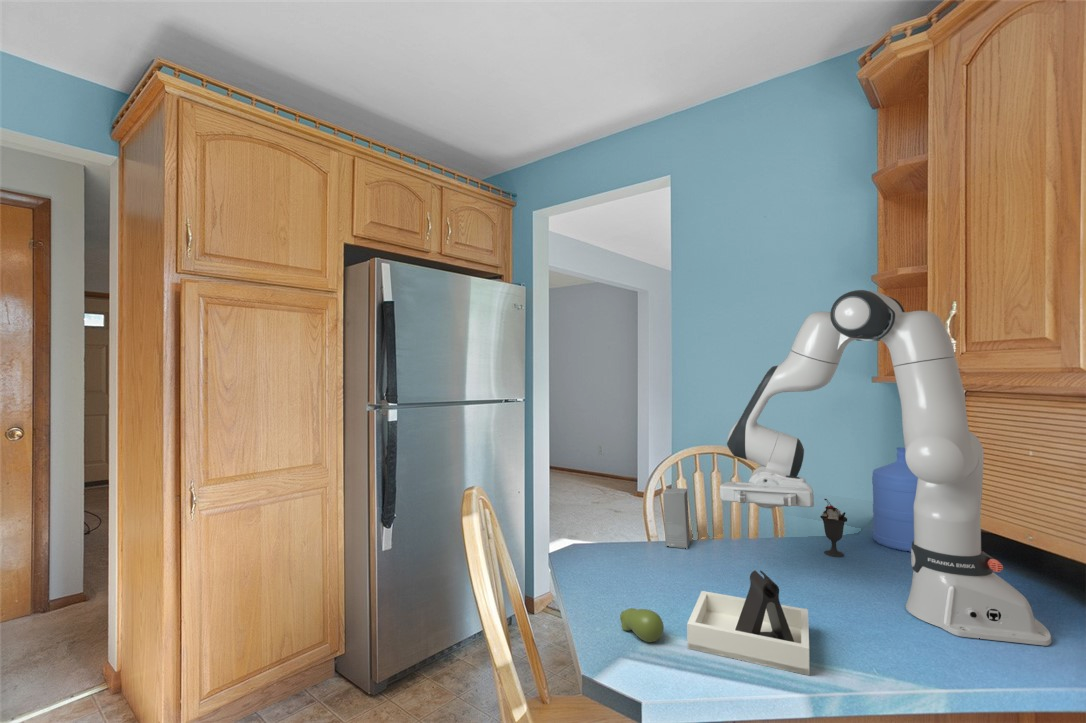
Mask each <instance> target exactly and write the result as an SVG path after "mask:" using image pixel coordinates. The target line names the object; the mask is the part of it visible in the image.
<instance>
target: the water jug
mask: <svg viewBox="0 0 1086 723" xmlns="http://www.w3.org/2000/svg"><path fill="white" fill-rule="evenodd" d="M871 480H872V481H871V484H872V496H873V498H872V503H873V504H872V513H873V514H872V517H873V520H872V525H873V527H872V528H873V529H872V538H873V540H874V541H875V543H877V544H879V545H881V546H883V547H887V548H889V549H892V550H896V549H897V550H896V551H901V550H902V552H907V551H909V552H908V553H911V548H912V542H913V541H914V501H915V496H916V489H917V481H918V477H917V476H915V475H914V474H913V473H912V472H911V471H910V469H909V468H908V466H907V463H906V459H905V447H896V461H894V462H892V463H890V464H885V465H883V466H880V467H876V468H874V469H873V470H872V476H871Z"/></svg>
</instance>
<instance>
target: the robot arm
mask: <svg viewBox="0 0 1086 723" xmlns="http://www.w3.org/2000/svg"><path fill="white" fill-rule="evenodd" d="M853 341H860V342H861V341H865V342H867V341H868V342H869V341H870V342H879V341H881V342H882V343H884V345H885V346H886V347H887V348H888V351H889V354H890V358H891V363H892V369H893V372H894V373H893V374H894V377H895V382H896V386H897V390H898V396H899V399H900V400H899V401H900V405H901V407H900V408H901V420H902V424H901V425H902V432H903V434H902V435H903V443H904V448H905V459H906V463H907V466H908V468H909V469H910V471H911V472H912V473H913V474H914V475H915V476H917V477H918V481H917V489H916V496H915V501H914V541H913V542H912V548H911V552H910V561H911V562H910V563H911V564H910V565H911V567H912V569H913V571H912V578H911V579H912V580H911V585H910V590H909V591H910V592H909V594H908V599H907V601H906V604H905V608H906V611H907V612H908V613H910V614H911V616H914V617H915V618H918V619H919V620H920V621H922V622H926V623H928V624H931V625H933V626H936V627H938V628H941V629H943V630H944V631H946V632H947V633H948V632H949V633H950V634H952V635H954V636H957V637H962V638H963V637H964V638H969V639H970V638H971V639H979V638H980V640H981V639H982V640H991V641H998V642H1000V641H1001V642H1008V643H1017V644H1018V643H1019V644H1027V645H1036V646H1037V645H1038V646H1043V647H1044V646H1050V645H1051V644H1052V642H1053V640H1052V635H1051V633H1050V631H1049V629H1048V628H1047V627H1046V626H1045V625H1044V624H1043V623H1042V622H1041V621H1039V620H1038V619H1036V618H1035V616H1034V612H1033V608H1032V607H1031V606H1032V605H1031V604H1030V602H1029V601H1028V599H1027V598H1026V597H1025V596H1024V595H1023V594H1022V593H1021V592H1020V591H1018V590H1017V589H1016V588H1015V587H1014V586H1012V585H1011V584H1010V583H1009V582H1007V581H1006V580H1005V579H1003V578H1002V577H1000V576H999V575H998V574H996V573H1001V572H1002V571H1003V570H1004V566H1003V564H1002V563H1001V562H1000V561H999V560H998V559H995V558H994V557H993V556H991V555H989V554H987V553H986V552H984V551H982V528H981V527H982V526H981V522H982V520H981V519H982V518H981V516H982V514H981V512H982V511H981V510H982V497H983V496H982V495H983V483H984V482H983V480H984V458H985V457H984V447H983V444H982V443H981V440H980V439H979V438H978V437H977V436H976V435H975V434H974V433H973V432H972V431H970V429H969V421H968V415H967V414H968V413H967V407H966V406H967V405H966V394H965V391H964V390H965V389H964V386H963V381H962V377H961V373H960V370H959V365H958V361H957V358H956V352H955V350H954V346H953V344H952V341H951V338H950V335H949V333H948V331H947V329H946V326H945V325H944V323H943V320H942V318H941V317H940V316H939V315H937V313H935V312H932V311H928V310H913V311H908V312H906V311H905V309H904V307H903V305H902V304H901V303H900V302H899V301H898V300H897V299H895V298H894V297H892V296H888V295H886V294H883V293H880V292H877V291H872V290H871V291H870V290H865V289H857V290H851V291H849V292H845V293H844V294H842V295H841V296H839V297H838V298H837V299H835V301H834V303H833V304H832V307H831V308H830V311H816V312H813V313H810V314H809V315H807V317H806V318H805V320H803V323H802V325H801V326H800V329H799V330H798V333H797V334H796V336H795V338H794V340H793V343H792V346H791V349H790V351H789V353H788V355H787V357H786V358H785V359H784V361H782V362H781V363H780V364H779V365H774V366H771V367H770V368H769V369H768V370H767V372H766V373H765V375H764V376H763V377H762V379H761V381H760V383H759V384H758V386H757V387H756V389H755V391H754V393H753V394H752V396H751V397H750V400H749V402H748V403H747V405H746V407H745V409H743V413H742V414H741V416H740V418H739V419H738V420H737V421H736V423H735V424H733V426H732V427H731V429H730V431H729V433H728V435H727V440H726V445H727V448H728V450H729V451H730V453H731V455H733V456H734V457H737V458H740V459H743V460H748V461H751V462H754V463H756V464H758V465H759V466H758V467H756V468H755V469H754V470H753V472H752V473H751V475H750V478H749V479H748V482H747V481H745V482H744V481H725V482H724V483H722V484H720V485H719V499H720V500H721V501H724V502H732V503H733V502H734V503H738V504H748V503H749V504H755V505H756V506H758V507H760V508H762V509H763V508H764V509H773V508H774V509H775V508H782V507H799V508H800V507H803V508H814V506H815V499H814V498H815V495H814V490H813V488H812V486H811V485H810V484H809V483H807V482H806V479H805V478H804V477H800V476H798V475H799V473H800V471H801V469H802V466H803V462H804V456H805V448H804V446H803V445H804V444H803V443H802V442H801V440H800V439H799V437H798V438H797V437H795V436H792V435H790V434H787V433H785V432H781V431H777V430H774V429H772V428H768V427H767V426H764V425H760V424H759V423H758V419H759V417H760V416H761V415H762V412H763V410H764V409H765V407H767V406H766V405H767V404H768V402H769V400H770V399H771V398H772V397H773V396H775V395H777V394H783V393H793V392H798V393H801V392H804V393H805V392H812V391H815V390H819V389H822V388H824V387H826V386H827V385H828V384H829V383H830V382H831V381H832V379H833V377H834V375H835V374H836V371H837V370H838V367H839V363H840V362H841V358H842V356H843V353H844V350H845V349H846V347H847V346H848V345H849V344H850V343H852V342H853Z"/></svg>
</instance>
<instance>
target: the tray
mask: <svg viewBox="0 0 1086 723" xmlns="http://www.w3.org/2000/svg"><path fill="white" fill-rule="evenodd" d="M745 600H746V598H745V597H738V596H734V595H728V594H723V593H716V592H711V591H705V590H701V591H700V594H699V596H698V598H697V601H696V603H695V605H694V608H693V610H692V611H691V614H690V617H689V619H688V620H687V623H686V633H687V634H686V636H687V638H686V641H687V645H686V646H687V647H686V648H687V650H688V649H689V650H692V651H697V652H702V653H707V654H711V655H715V656H720V657H724V658H727V659H732V658H734V660H737V659H738V661H741V660H742V661H741V662H745V661H746V662H745V663H750V664H754V665H760V666H765V667H767V668H768V667H769V668H773V669H777V670H781V671H787V672H791V673H795V674H799V675H804V676H808V677H810V672H811V671H810V634H809V633H810V632H809V631H810V630H809V628H810V626H809V609H807V608H804V607H803V608H802V607H798V606H797V607H796V606H790V605H784V604H781V607H782V610H783V612H784V615H785V618H786V620H787V623H788V626H789V629H790V631H791V634H792V637H793V639H794V642H790V641H785V640H780V639H775V638H771V637H766V636H761V635H756V634H751V633H746V632H741V631H736V630H735V629H736V626H737V623H738V620H739V617H740V614H741V612H742V609H743V606H744V603H745ZM760 632H772V627H771V624H770V620H769V616H768V613H767V609H766V611H765V615H764V619H763V623H762V627H761V631H760Z"/></svg>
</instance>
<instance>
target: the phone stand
mask: <svg viewBox="0 0 1086 723" xmlns="http://www.w3.org/2000/svg"><path fill="white" fill-rule="evenodd" d="M749 581H750V582H749V583H750V584H749V589H748V592H747V595H746V600H745V603H744V606H743V609H742V612H741V614H740V617H739V620H738V623H737V626H736V629H735V630H736V631H741V632H746V633H751V634H756V635H761V636H766V637H771V638H775V639H780V640H785V641H790V642H794V639H793V637H792V634H791V631H790V629H789V626H788V623H787V620H786V618H785V615H784V612H783V610H782V607H781V605H782V604H781V602H780V598H779V595H780V588H779V586H778V584H776V582H774V581H773V580H772V579H771V578H770V577H769V576H768V575H767V574H766V573H765V572H764V571H763V570H761V569H760V570H759V572H758V571H757V570H753V571H751V573H750V575H749ZM766 609H767V613H768V616H769V620H770V624H771V627H772V632H760V631H761V627H762V623H763V619H764V615H765V611H766Z"/></svg>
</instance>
